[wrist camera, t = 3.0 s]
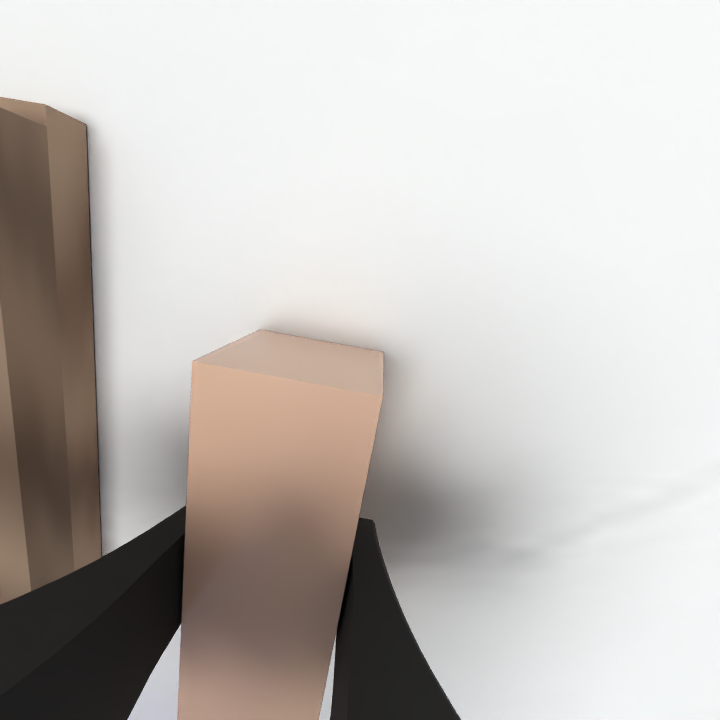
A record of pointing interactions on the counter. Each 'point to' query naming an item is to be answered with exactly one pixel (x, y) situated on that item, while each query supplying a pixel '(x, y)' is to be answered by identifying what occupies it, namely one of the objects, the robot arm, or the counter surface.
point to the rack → (45, 351)
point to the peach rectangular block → (271, 520)
